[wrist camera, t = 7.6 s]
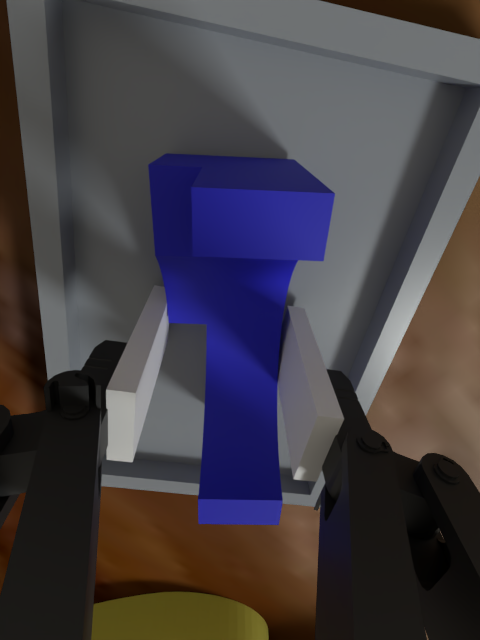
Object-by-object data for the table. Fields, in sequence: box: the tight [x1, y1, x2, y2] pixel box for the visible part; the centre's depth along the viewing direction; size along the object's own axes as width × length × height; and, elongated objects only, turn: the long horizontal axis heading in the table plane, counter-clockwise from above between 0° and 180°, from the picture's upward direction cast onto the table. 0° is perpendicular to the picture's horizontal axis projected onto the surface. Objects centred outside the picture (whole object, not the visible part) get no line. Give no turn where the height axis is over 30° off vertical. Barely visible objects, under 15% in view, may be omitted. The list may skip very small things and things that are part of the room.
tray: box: [6, 0, 480, 507], centre depth 16 cm, size 22×15×2 cm
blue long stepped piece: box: [148, 153, 335, 525], centre depth 13 cm, size 12×4×6 cm, turn 177°
